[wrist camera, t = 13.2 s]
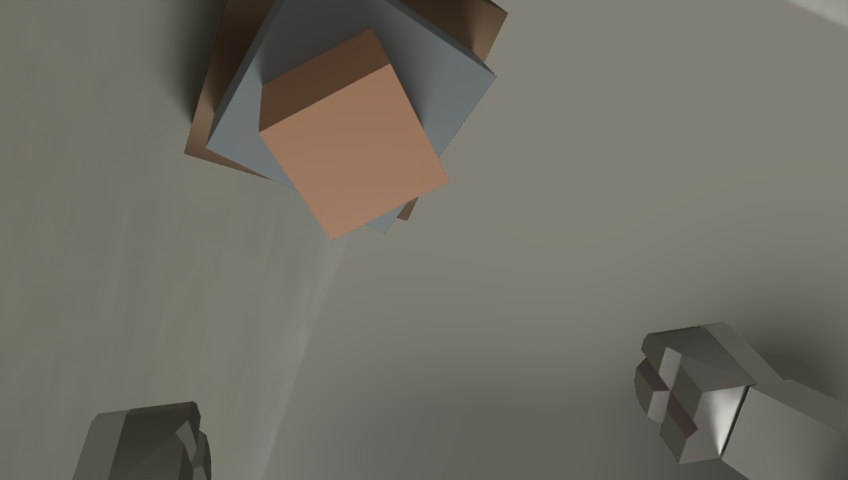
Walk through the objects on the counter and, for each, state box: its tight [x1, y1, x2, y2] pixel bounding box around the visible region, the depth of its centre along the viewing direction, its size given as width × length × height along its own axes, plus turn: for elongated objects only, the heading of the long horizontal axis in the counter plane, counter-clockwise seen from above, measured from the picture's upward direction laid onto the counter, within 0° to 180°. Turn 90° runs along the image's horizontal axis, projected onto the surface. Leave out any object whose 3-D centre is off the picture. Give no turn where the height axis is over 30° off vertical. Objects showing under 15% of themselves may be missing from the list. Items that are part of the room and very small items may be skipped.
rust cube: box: [258, 27, 449, 240], centre depth 24 cm, size 5×5×5 cm
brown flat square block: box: [184, 0, 508, 221], centre depth 31 cm, size 12×12×4 cm
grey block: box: [206, 0, 497, 234], centre depth 28 cm, size 9×9×4 cm
